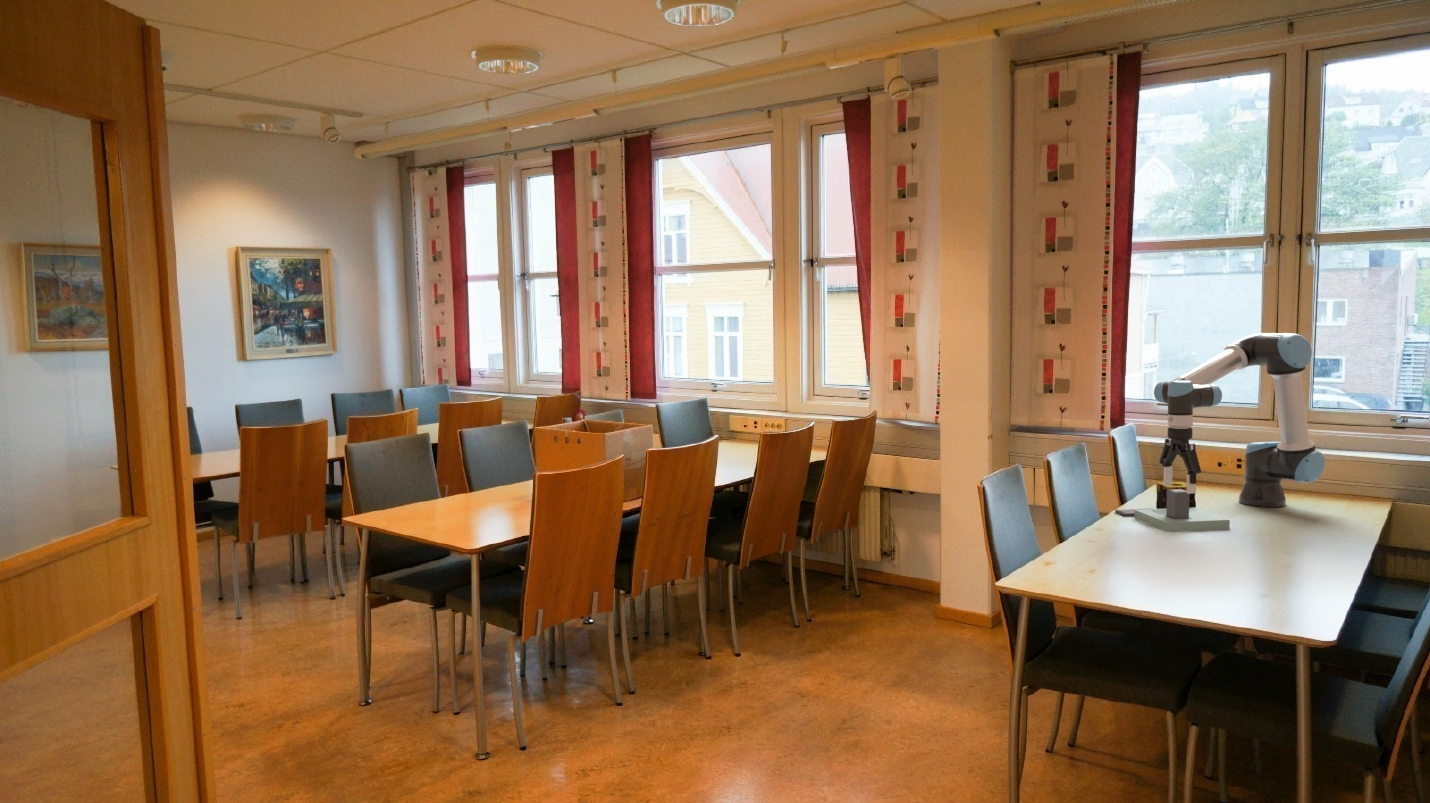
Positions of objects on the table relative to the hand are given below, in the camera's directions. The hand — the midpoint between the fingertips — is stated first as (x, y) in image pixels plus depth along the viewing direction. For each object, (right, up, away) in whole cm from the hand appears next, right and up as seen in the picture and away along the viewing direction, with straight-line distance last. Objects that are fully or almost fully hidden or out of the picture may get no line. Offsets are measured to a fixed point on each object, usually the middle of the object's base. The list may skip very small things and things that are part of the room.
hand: (1179, 489), depth 321 cm
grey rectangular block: (0, -12, +1) cm, 12 cm away
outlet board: (+3, -12, +4) cm, 13 cm away
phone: (-5, -11, +20) cm, 23 cm away
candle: (+10, -10, +23) cm, 27 cm away
